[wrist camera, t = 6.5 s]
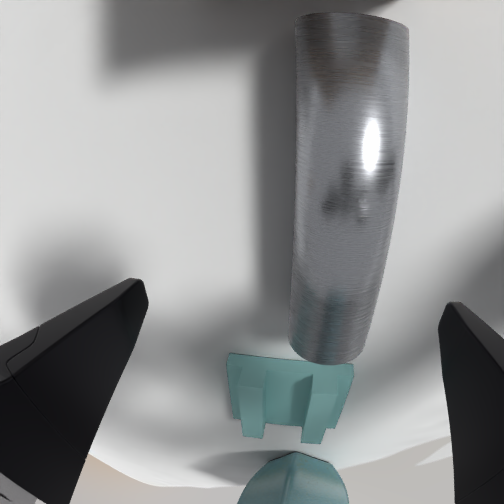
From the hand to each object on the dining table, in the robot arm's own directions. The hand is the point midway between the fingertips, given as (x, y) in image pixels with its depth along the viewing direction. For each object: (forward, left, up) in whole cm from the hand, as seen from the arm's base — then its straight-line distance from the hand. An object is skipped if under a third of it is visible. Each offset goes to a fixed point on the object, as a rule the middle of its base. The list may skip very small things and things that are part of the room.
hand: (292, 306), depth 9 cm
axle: (0, -1, -6) cm, 6 cm away
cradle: (0, +14, -7) cm, 15 cm away
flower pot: (-2, +28, -7) cm, 29 cm away
